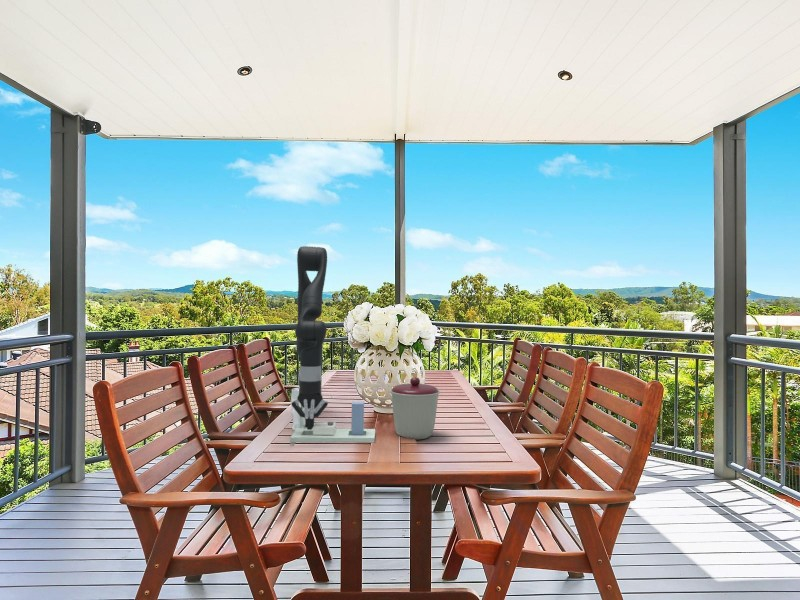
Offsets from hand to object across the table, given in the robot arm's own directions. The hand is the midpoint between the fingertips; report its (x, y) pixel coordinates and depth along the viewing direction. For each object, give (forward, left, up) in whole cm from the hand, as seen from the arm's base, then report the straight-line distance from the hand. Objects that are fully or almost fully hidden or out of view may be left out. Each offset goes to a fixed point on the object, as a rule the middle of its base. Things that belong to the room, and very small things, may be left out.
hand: (309, 429), depth 182 cm
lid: (0, +5, -1) cm, 5 cm away
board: (0, +9, -4) cm, 9 cm away
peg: (0, +17, -3) cm, 17 cm away
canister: (-6, +37, -4) cm, 37 cm away
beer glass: (-15, -5, -4) cm, 17 cm away
